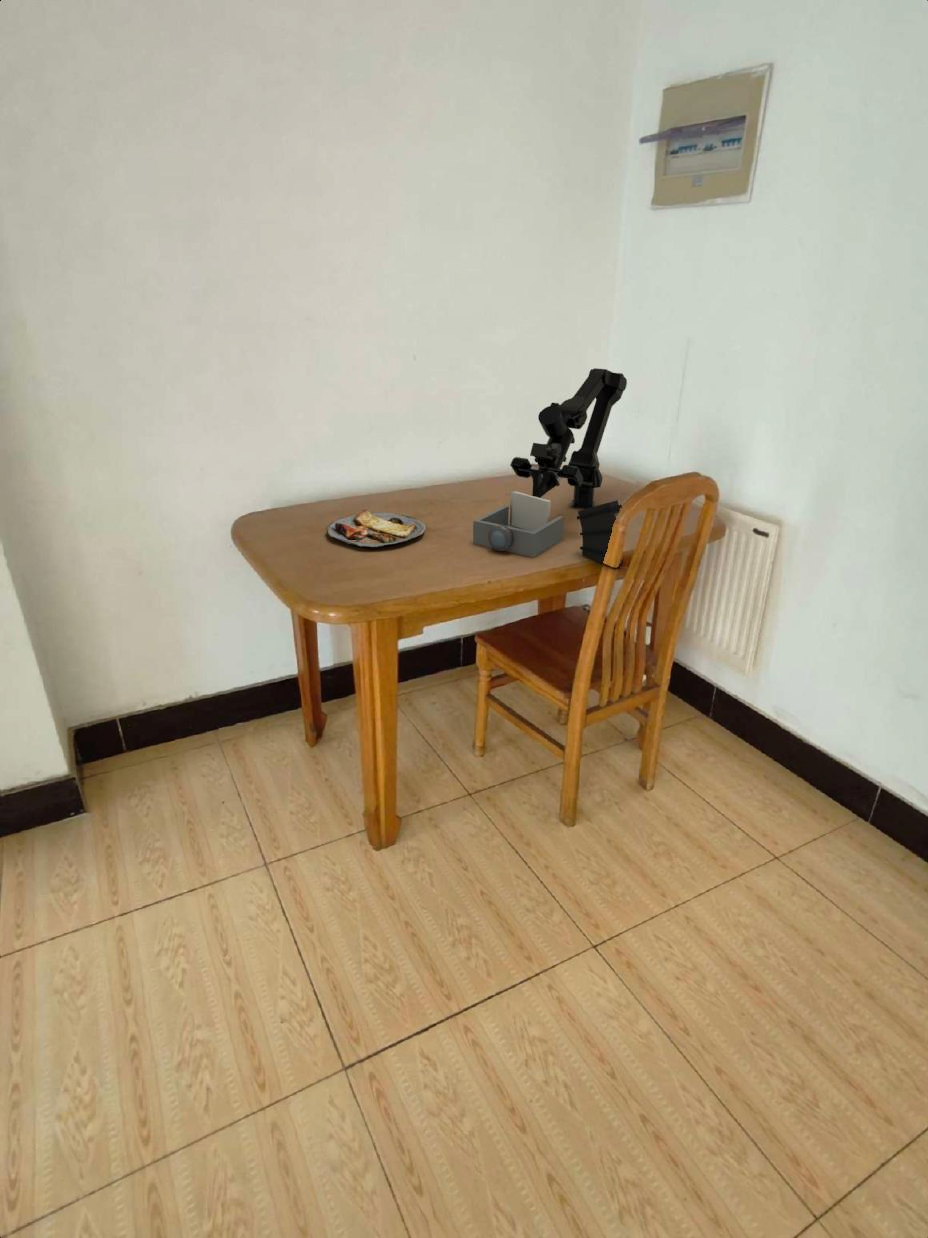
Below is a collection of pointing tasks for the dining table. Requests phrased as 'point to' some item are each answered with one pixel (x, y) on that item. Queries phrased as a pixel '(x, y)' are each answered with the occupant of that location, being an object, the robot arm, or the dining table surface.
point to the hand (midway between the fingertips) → (534, 500)
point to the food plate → (375, 528)
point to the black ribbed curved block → (598, 529)
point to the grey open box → (515, 534)
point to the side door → (528, 511)
